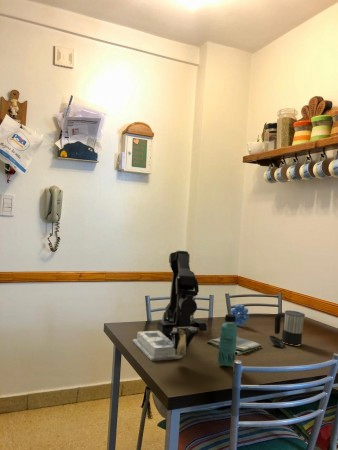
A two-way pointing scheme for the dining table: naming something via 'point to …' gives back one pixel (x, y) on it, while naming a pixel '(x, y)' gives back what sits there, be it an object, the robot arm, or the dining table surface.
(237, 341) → the dish towel
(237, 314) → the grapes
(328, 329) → the dining table surface
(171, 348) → the aluminium jig
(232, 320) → the beverage bottle
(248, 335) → the dining table surface
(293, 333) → the milk frother
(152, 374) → the dining table surface
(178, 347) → the solid brass peg
